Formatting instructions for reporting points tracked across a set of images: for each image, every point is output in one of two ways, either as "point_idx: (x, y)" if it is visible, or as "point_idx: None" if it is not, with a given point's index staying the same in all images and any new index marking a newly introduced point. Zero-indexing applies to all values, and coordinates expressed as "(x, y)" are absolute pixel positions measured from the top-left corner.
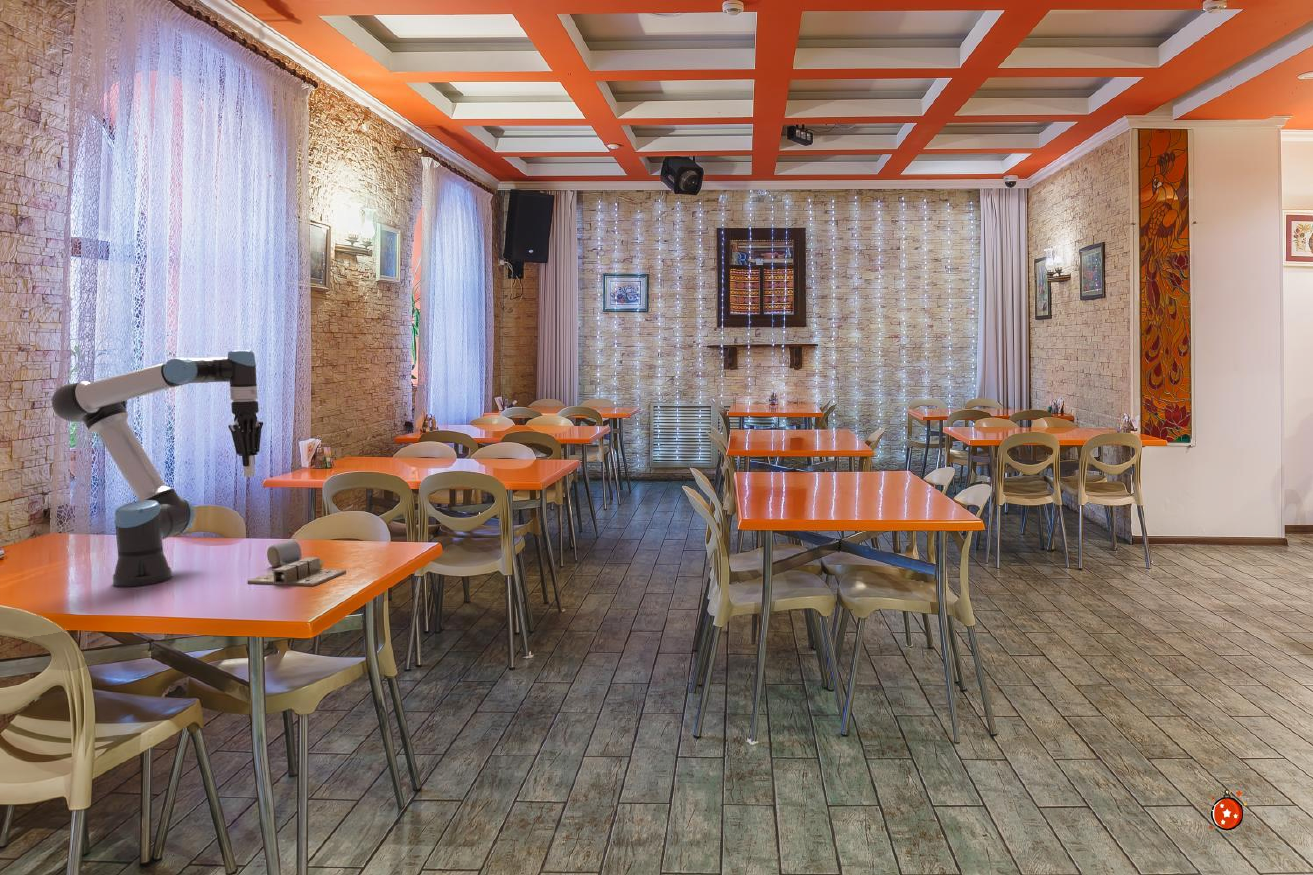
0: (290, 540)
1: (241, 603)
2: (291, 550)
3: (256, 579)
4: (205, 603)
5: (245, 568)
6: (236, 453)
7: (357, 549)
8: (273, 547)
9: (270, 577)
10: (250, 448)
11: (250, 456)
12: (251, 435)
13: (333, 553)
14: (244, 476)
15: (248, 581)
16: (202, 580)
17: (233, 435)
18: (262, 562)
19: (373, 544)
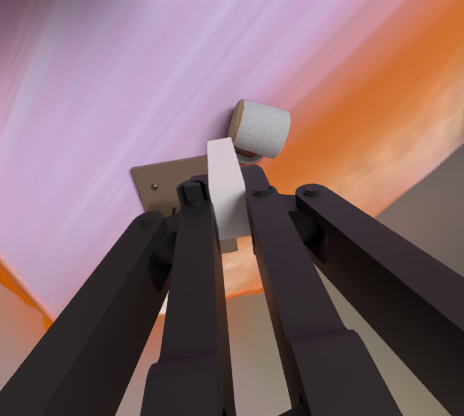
0: (277, 140)
1: (61, 244)
2: (256, 153)
3: (143, 176)
4: (26, 203)
5: (208, 63)
6: (135, 218)
7: (386, 158)
8: (234, 133)
9: (162, 187)
10: (256, 250)
11: (221, 237)
12: (285, 370)
13: (353, 139)
14: (207, 142)
15: (131, 170)
16: (100, 60)
17: (19, 398)
18: (262, 52)
19: (427, 156)
